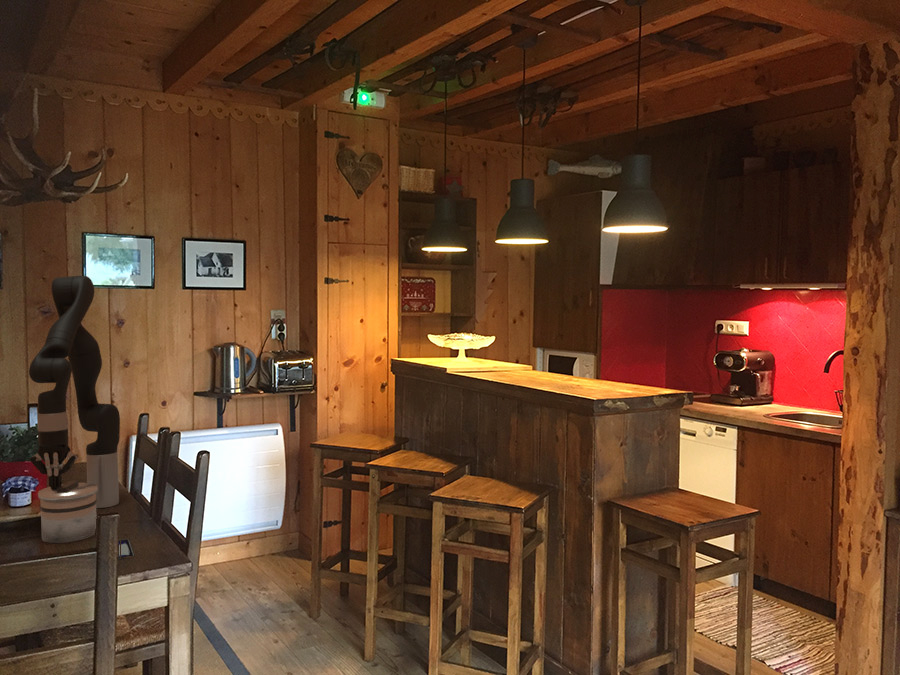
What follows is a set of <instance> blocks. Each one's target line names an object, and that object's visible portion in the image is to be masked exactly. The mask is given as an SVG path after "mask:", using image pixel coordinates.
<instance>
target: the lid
mask: <svg viewBox="0 0 900 675" xmlns="http://www.w3.org/2000/svg"><path fill="white" fill-rule="evenodd" d="M97 491H98V488H97V485H96V484H93V483H87V482H79V480H69V481H66V482H65V483H62V485H61V486H59V487H58V488H57V489H51V487H50V486H47V487H45V488H42V489H40V490H39V491H38V492H37V498H38V499H42V500H50V501H57V500H70V499H76V498H81V497H86V496H89V495H92V494H94V493H96V492H97Z"/></svg>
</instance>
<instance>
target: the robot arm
mask: <svg viewBox="0 0 900 675" xmlns="http://www.w3.org/2000/svg"><path fill="white" fill-rule="evenodd" d="M51 294H52V299H53V302H54V306H55V309H56V313H57V316H58V319H57V320H56V321H55V322H54V323H53V324H52V326H50V329H49V330H48V333H47V335H46V339H45V342H44V345H43V346H42V347H41V349H40V350H39V351H38V353H37V354H36V355H35V357H34V358H33V359H32V361H31V362H30V365H29V368H28V369H29V370H28V373H29V374H28V375H29V378H30V379H31V380H32V381H33V382H34V383H36V384H55V386H54V388H53V389H51V390H47V391H43V392H41V393H39V394H38V397H37V411H38V412H37V413H38V415H37V416H38V417H37V435H38V436H37V437H38V440H37V441H38V449H37V453H36V454H35V455H34V456H31V457H30V458H29V461H30V462H31V464H33V466H34V467H35V468H36V469H37V470H38V471H39V473H41V475H47V476H48V487H51V489H57V488H58V487H59V486H61V485H62V484H63V481H62V480H63V479H62V477H63V476H62V475H63V474H66V473H67V472H69V470H70V469H71V468H72V466H73V465H74V464H75V463H76V462H77V460H78V459H79V454H77V453H76V454H74V453H73V452H72V451H71V448H70V446H69V425H68V424H69V423H68V420H69V419H68V413H67V393H68V387H69V383H70V380H71V376H72V378H73V383H74V384H73V385H74V389H75V390H74V391H75V397H76V406H77V415H78V421H79V424H80V426H81V428H82V429H83V430H85V431H86V432H93V433H95V432H96V433H97V435H96V436H97V437H96V440H95V441H92V442H91V443H88V444H87V445H86V447H85V452H86V453H85V454H86V455H85V457H86V459H85V460H86V483H93V484H96V485H97V488H98V491H97V492H96V498H97V503H96V509H103V508H110V507H115V506H116V505H118V504H120V494H119V493H120V492H119V488H120V486H119V461H118V459H119V458H118V457H119V456H118V446H119V444H120V436H121V434H120V431H121V430H120V429H121V417H120V416H121V415H120V411H119V409H118V407H117V406H116V405H115V404H113V403H101V402H100V403H99V400H98V397H97V392H96V385H97V381H98V379H99V376H100V373H101V370H102V365H103V360H102V354H101V349H100V345H99V343H98V341H97V339H96V338H95V337H94V336H93V335H92V334H91V333H90V332H89V331H88V330H87V329H86V328H85V327H84V326H83V324H82V322H83V320H84V318H85V316H86V314H87V312H88V311H89V309H90V307H91V305H92V303H93V300H94V296H95V286H94V282H93V280H92V279H91V278H90V277H89V276H87V275H73V276H72V275H70V276H60V277H59V276H58V277H55V278H54V279H53V280H52V282H51ZM67 357H68V359H67ZM65 460H67V462H66V463H65V464H64V461H65Z"/></svg>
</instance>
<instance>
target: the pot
mask: <svg viewBox="0 0 900 675" xmlns="http://www.w3.org/2000/svg"><path fill="white" fill-rule="evenodd" d="M39 502H40V503H39V504H40V505H39V510H40V521H41V522H40V523H41V525H40V526H41V540H42V541H43V542H45V543H49V544H64V543H65V544H66V543H72V542H77V541H82V540H85V539H88V538H91V537H93V536H95V535H96V534H95V529H96V519H97V516H98V515H97V508H96V503H97V498H96V493H94V494H92V495H89V496H86V497H81V498H76V499H70V500H57V501H50V500H42V499H40V500H39Z"/></svg>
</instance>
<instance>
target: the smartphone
mask: <svg viewBox="0 0 900 675" xmlns="http://www.w3.org/2000/svg"><path fill="white" fill-rule="evenodd" d="M118 540H119V560H118V561H120V540H121V558H123V557H127V556H134V557H135V554H134V551H133V548H132V545H131V542H130V539H128V538H124V539H118Z"/></svg>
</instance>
